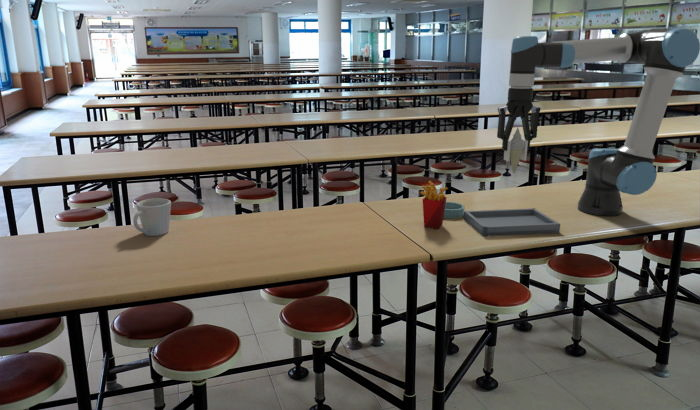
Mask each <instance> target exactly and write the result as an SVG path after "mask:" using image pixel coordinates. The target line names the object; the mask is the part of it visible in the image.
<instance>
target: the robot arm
mask: <svg viewBox="0 0 700 410" xmlns="http://www.w3.org/2000/svg"><path fill="white" fill-rule="evenodd" d="M699 55H700V39H699V38H698V36H697V33H696V32H694V31H693V30H691V29H689V28H685V27H670V28H669V27H667V28H652V29H647V30H641V31H637V32H636V31H635V32H629V33H622V34H620V35H619V36H617V37H604V38H602V37H601V38H588V39H573V40H572V39H571V40H559V41H558V40H557V41H549V42H548V41H544V42H539V39H538V36H535V35H533V36H532V35H531V36H530V35H528V36H527V35H526V36H525V35H520V36H519V35H517V36H515V37H514V38H513V39H512V43H511V49H510V64H509V65H510V69H509V79H508V86H509V88H508V92H507V102H506V104H505V106H501V107H500V106H499V107H497V112H498V122H497V123H498V124H497V134H496V137H497V138H498V139H499V140H501V141H502V143H501V145H502V146H501V149H502V151H504V152H503V161H506V162H510V146H511V140H510V136H511V134H512V130H513V129H514V128H513V127H514V125H515V121H516V120H517V119H518V118H520V119H521V124H522V131H523V137H524V139H523V138H522V140H523V141H524V149H523V152H522V154H521V157H520V160H522V161H523V162H526V161H527V154H528V151H530V148H531V141H532V140H533V139H536V138H537V137H538V126H539V125H538V124H539V114H540V112H541V110H542V109H541V107H540V106H535V105H534V104H533V95H534V88H532V87H534V85H535V73H536V69H541V68H543V69H544V68H545V69H546V68H548V69H551V68H552V69H554V68H555V69H556V68H559V69H562V68H569V67H571V66H572V65H573V64H583V63H598V62H608V61H609V62H610V61H611V62H613V61H617V62H619V63H621V64H624V63H629V64H630V63H631V64H640V65H644V66H643V69H644V72H645V73H646V76H645V80H644V83H643V85H642V88H641V92H640V95H639V96H638V97H639V98H638V102H637V104H636V107H635V110H634V113H633V116H632V120H631V122H630V126H629V130H628V132H627V135H626V139H625V141H624V145H622V146H620V147H619V148H593V149H591V150H590V152H589V155H588V159H587V160H588V161H587V162H588V163H587V171H586V180H585V186H584V189H583V191H582V194H581V196H580V197H579V200H578V202H577V209H578V210H579V211H580V212H584V213H586V214H588V215H589V214H590V215H593V216H594V215H595V216H596V215H597V216H605V217H606V216H607V217H608V216H610V217H614V216H615V217H616V216H618V215H621V214H622V213H623V207H624V206H623V201H622V197H621V193H623V194H627V195H631V196H638V195H641V194H644V193H645V192H647V191H648V190H650V189H651V188H652V187H653V185H654V184H655V182H656V180H657V175H658V174H657V173H658V172H657V171H656V168H655V166H654V165H653V164H654V162H655V158H656V157H655V155H654V153H653V149H654V146H655V143H656V140H657V136H658V133H659V130H660V127H661V125H662V123H663V122H662V121H663V119H664V116H665V113H666V110H667V107H668V104H669V101H670V98H671V95H672V92H673V89H674V85H675V83H676V81H677V79H678V78H680V77H682V76H683V75H684V73H685V70H686V68H687V67H688V66H691V65H692V64H693V63H695V61H696V60H697V58H698V57H699ZM530 111H531V115H530V117H529V113H530ZM507 112H508V117H507V122H506V115H507V114H506V113H507ZM529 119H530V121H529Z"/></svg>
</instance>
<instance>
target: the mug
mask: <svg viewBox="0 0 700 410" xmlns="http://www.w3.org/2000/svg"><path fill="white" fill-rule="evenodd" d="M135 206H136V209H137V212H136V213H135V214H134V215H133V220H132V222H133V226H134V228H135V229H136V230H137V231H138V232H140V233H143V234H144V235H145V236H149V237H156V236H157V237H158V236H163V235H165V234H167V233H169V231H170V221H171V210H172V209H171V207H172V201H171V200H170V199H167V198H158V197H156V198H147V199H142V200H140V201H138V202H136V204H135ZM138 218H139V220H140V223H141V227H140V225H139V224H138Z"/></svg>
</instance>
